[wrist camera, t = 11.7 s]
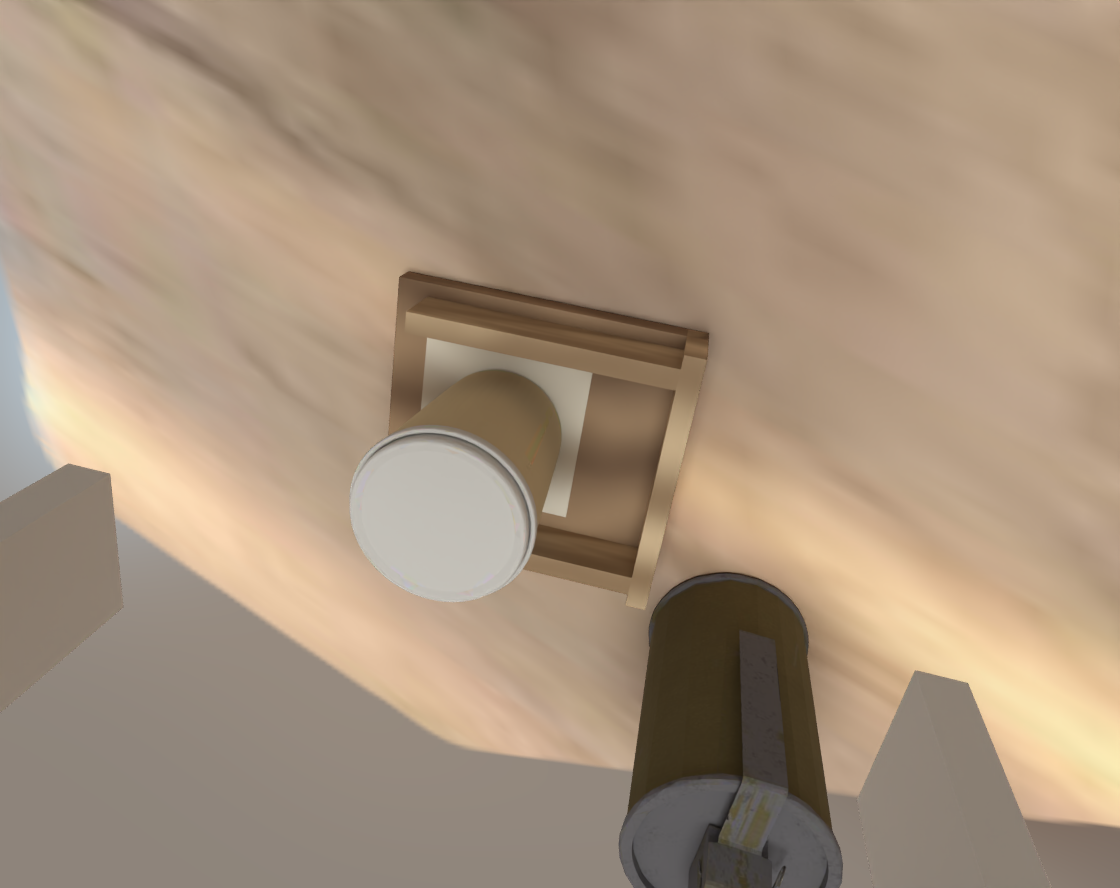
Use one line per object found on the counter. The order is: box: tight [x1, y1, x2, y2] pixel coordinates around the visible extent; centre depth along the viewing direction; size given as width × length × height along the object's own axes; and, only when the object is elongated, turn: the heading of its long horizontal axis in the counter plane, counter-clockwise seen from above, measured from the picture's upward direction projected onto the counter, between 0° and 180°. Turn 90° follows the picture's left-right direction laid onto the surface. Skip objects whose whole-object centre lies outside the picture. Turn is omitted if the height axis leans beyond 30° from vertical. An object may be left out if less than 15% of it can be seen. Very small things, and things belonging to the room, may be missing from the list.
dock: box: [388, 272, 709, 610], centre depth 47 cm, size 16×18×5 cm
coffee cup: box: [350, 370, 562, 602], centre depth 43 cm, size 9×9×12 cm
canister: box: [619, 574, 843, 888], centre depth 44 cm, size 11×10×20 cm
